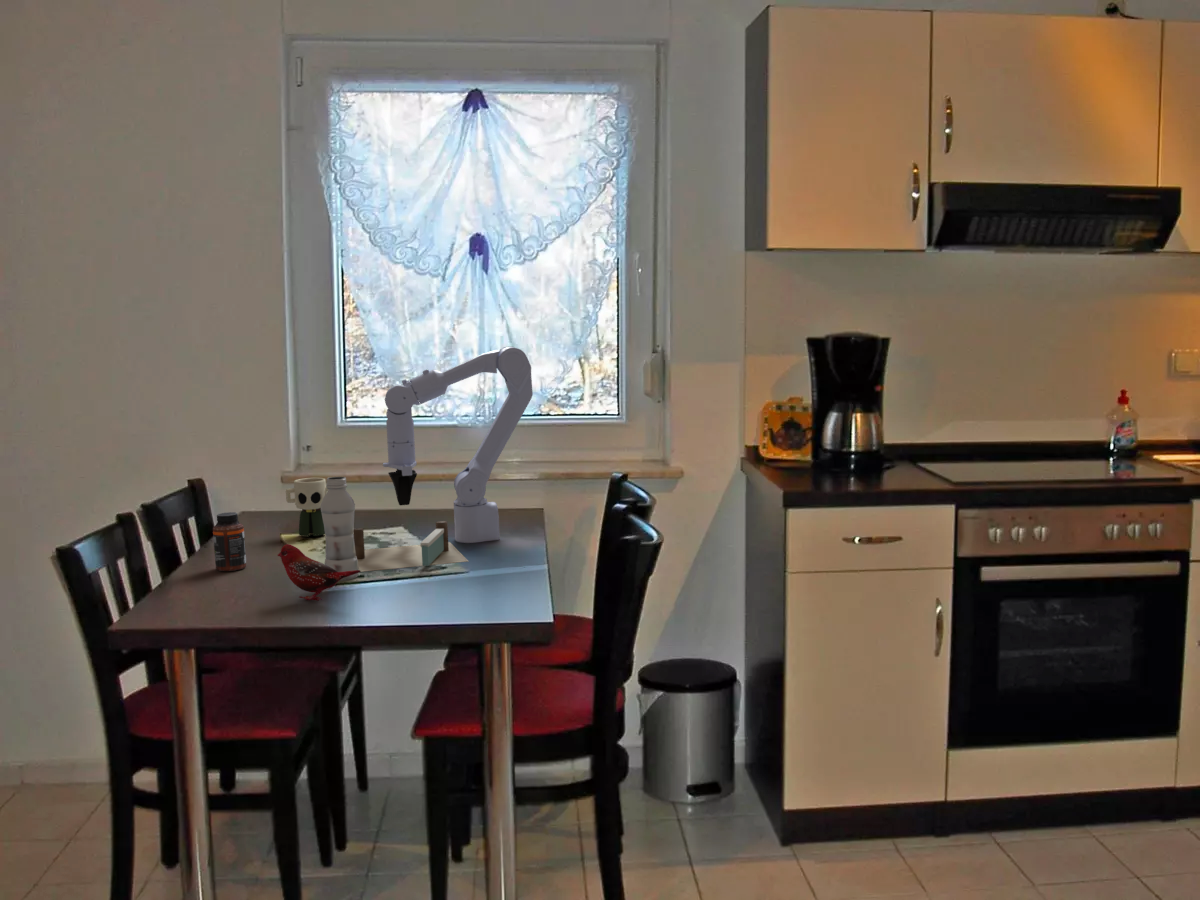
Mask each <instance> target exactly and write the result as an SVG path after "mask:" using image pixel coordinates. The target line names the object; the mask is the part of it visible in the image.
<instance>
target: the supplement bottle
mask: <svg viewBox="0 0 1200 900" xmlns="http://www.w3.org/2000/svg"><path fill="white" fill-rule="evenodd" d="M216 521H217V522H216V524H215V525H214V526H213V528H212V536H213V538H212V539H213V550H214V561H215V569H216V570H217V571H219V572H234V571H240V570H242V569H245V568H246V567H247V555H246V543H245V542H246V541H245V530H244V529H245V528H244V527H245V526H244V525H243V524H242V522H240V521H239V515H238V512H235V511H234V512H233V511H230V512H229V511H227V512H221V513H218V514H216Z"/></svg>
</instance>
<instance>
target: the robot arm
mask: <svg viewBox="0 0 1200 900" xmlns="http://www.w3.org/2000/svg"><path fill="white" fill-rule="evenodd" d="M498 372H499V373H500V375H501V376H502V377H503V379H504V382H505V386H506V389H507V391H508V395H507V396H506V398H505V400H504V402H503V404H502V406H501V408H500V409H499V411H498V412H497V414H496V416H495V418H494V420H493V422H492V423H491V425H490V427H489V429H488V430H487V432H486V434H485V436H484V438H483V439H482V441H481V443H480V444H479V447H478V449H477V450H476V452H475V454H474V455H473V457H472V459H470V461H469V462H468V463H467V465H466V467H465V468H464V469H463V470H461V471H459V472H458V474H457V475H456V476H455V478H454V482H453V487H454V489H455V493H456V496H457V497H456V499H455V500H453V515H454V516H453V518H454V520H453V521H454V538H455V539H454V541H455V542H457V543H463V544H464V543H465V544H470V543H471V544H472V543H473V544H474V543H481V542H489V541H490V542H491V541H499V540H500V539H501V538H500V517H499V508H498V505H497V502H496V501H488V500H487V498H486V497H485V495H486V487H487V483H488V481H489V479H490V478H491V477H490V476H491V474H492V471H493V469H494V466H495V465H496V463H497V461H498V459H499V458H500V456H501V454H502V453H503V451H504V448H505V447H506V445H507V443H508V442H509V439H510V438H511V436H512V434H513V432H514V431H515V428H516V427H517V425H518V423H519V422H520V420H521V418H522V416H523V415H524V413H525V410H526V409H527V407H528V405H529V404H530V403H531V400H532V398H533V380H532V365H531V363H530V361H529V359H528V356H527V354H526V353H525V352H524V350H522V349H520V348H518V347H514V346H512V345H509V346H507V345H506V346H503V347H502V348H500V349H494V350H491V351H487V352H484V353H481V354H479V355H477V356H475V357H472V358H470V359H468V360H466V361H464V362H462V363H459V364H458V365H455V366H454V367H451V368H449V369H446V370H445V371H440V370H437V369H431V370H429V369H428V368H427V369H423V370H422V374H420V375H418V376H415V377H413V378H410V379H408V380H407V379H406V378H405V379H403V380H401V383H402V384H401V385H400V384H396V385H393V386H390V387H389V389H388V390H387V391H386V393H385V397H384V402H385V406H386V408H387V409H386V423H385V425H386V441H387V443H386V444H387V459H388V460H387V461H388V462H383V463H382V467H383V468H390V469H396V470H395V471H391V472H388V473H387V474H388V475H389V477H390V479H391V482H392V483H393V484H392V485H393V486H394V487H393V488H394V490H395V491H394V492H395V495H396V499H397V503H398V505H399V506H409V505H410V503H411V498H412V497H411V496H412V491H413V485H414V483H415V480H416V478H417V475H418V473H417V472H416V470H415V469H414V467H416V466H417V460H416V447H415V446H416V445H415V426H414V423H415V422H414V418H413V413H412V410H413V409H412V408H413V405H416V406H420V405H423V404H425V403H427V402H429V401H432V400H434V399H436V398H439V397H441V396H443V395H445V394H446V392H447V389H448V387H449V386H450V385H453V384H456V383H458V382H461V381H463V380H466V379H469V378H471V377H473V376H476V375H479V374H482V373H489V374H498Z"/></svg>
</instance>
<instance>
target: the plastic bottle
mask: <svg viewBox="0 0 1200 900" xmlns="http://www.w3.org/2000/svg"><path fill="white" fill-rule="evenodd" d="M326 488H327V489H328V491H326V495H325V497H324V498H323V500H322V503H321V512H322V518H323V523H324V529H325V534H324V535H325V559H324V564H325V565H327V566H329V567H331V568H333V569H334V570H336V571H337V572H345V571H354V570H359V565H358V560H357V557H356V552H355V544H354V533H353V532H354V529H355V527H354V526H355V525H354V523H355V510H356V503H355V501H354V499H353V497H352V496H351V494H350V493H349V492H348V491H347V490H346V488H348V484H347V477H346V476H331V477H327V478H326ZM358 576H359V573H356V574H353V575H351V576H348V577H345V578H342V579H341V580H339V581H338V582H345V581H350V580H354V579H356V578H357V577H358Z"/></svg>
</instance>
